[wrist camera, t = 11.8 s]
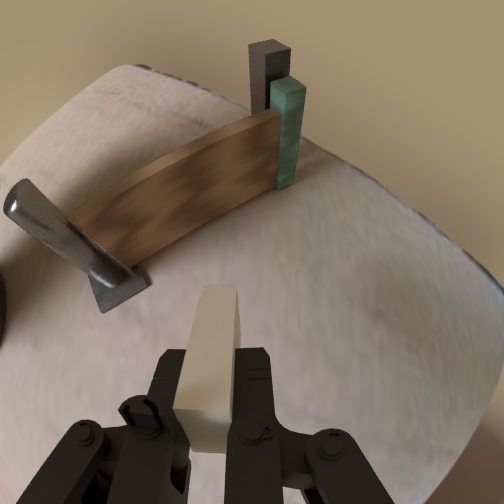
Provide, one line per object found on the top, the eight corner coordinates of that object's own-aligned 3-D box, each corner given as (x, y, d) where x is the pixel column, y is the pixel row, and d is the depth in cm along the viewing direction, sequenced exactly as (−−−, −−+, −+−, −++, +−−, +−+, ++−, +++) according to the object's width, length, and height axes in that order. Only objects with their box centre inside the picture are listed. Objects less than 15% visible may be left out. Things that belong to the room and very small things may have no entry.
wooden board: (131, 273, 27) (58, 209, 15) (125, 258, 28) (55, 190, 16) (293, 182, 31) (306, 87, 19) (282, 171, 31) (290, 75, 19)
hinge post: (103, 313, 26) (-11, 256, 11) (87, 267, 28) (-8, 192, 13) (148, 286, 27) (51, 202, 12) (129, 241, 29) (47, 145, 14)
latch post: (264, 178, 31) (265, 54, 17) (253, 165, 32) (248, 44, 18) (281, 170, 32) (291, 48, 17) (270, 157, 33) (273, 39, 18)
